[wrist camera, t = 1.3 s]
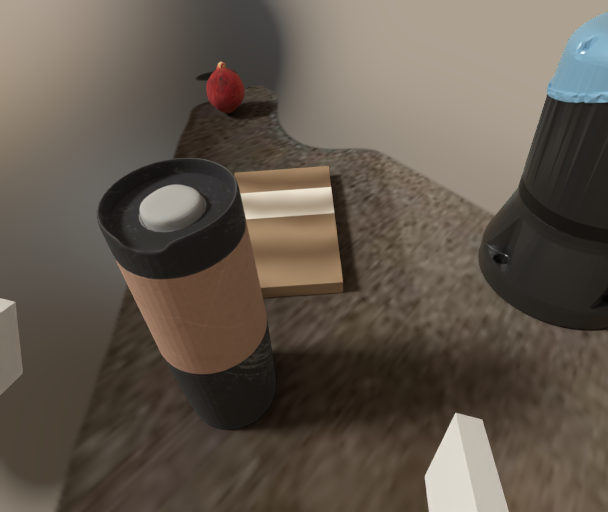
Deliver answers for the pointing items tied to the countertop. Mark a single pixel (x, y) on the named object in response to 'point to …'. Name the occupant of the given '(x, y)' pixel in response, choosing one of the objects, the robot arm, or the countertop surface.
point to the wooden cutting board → (292, 230)
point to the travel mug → (195, 283)
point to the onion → (225, 89)
